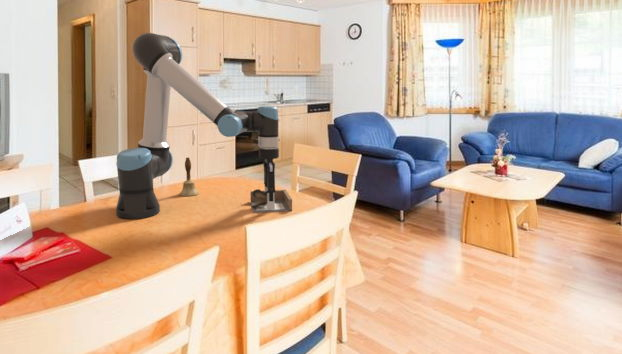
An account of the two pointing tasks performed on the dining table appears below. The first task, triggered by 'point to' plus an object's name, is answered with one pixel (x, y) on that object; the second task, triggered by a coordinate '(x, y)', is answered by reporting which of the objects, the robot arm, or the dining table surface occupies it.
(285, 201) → the tray
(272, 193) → the robot arm
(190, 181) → the hand bell
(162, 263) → the dining table surface
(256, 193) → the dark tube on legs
